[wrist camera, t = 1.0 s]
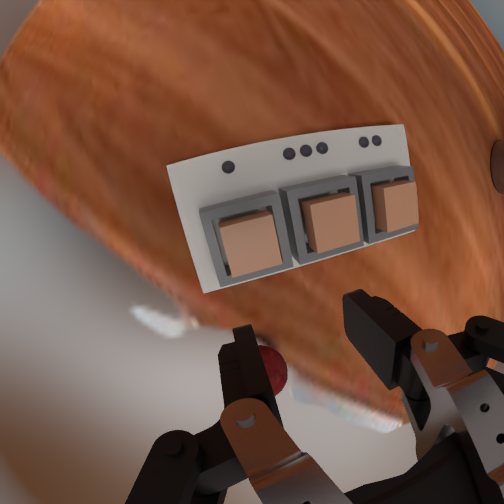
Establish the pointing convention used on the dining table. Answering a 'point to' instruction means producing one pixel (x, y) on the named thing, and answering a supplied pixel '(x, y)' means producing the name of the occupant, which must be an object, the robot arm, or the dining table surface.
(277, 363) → the onion
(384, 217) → the button two
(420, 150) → the dining table surface
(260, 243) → the button one
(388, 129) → the button panel
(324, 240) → the button three
